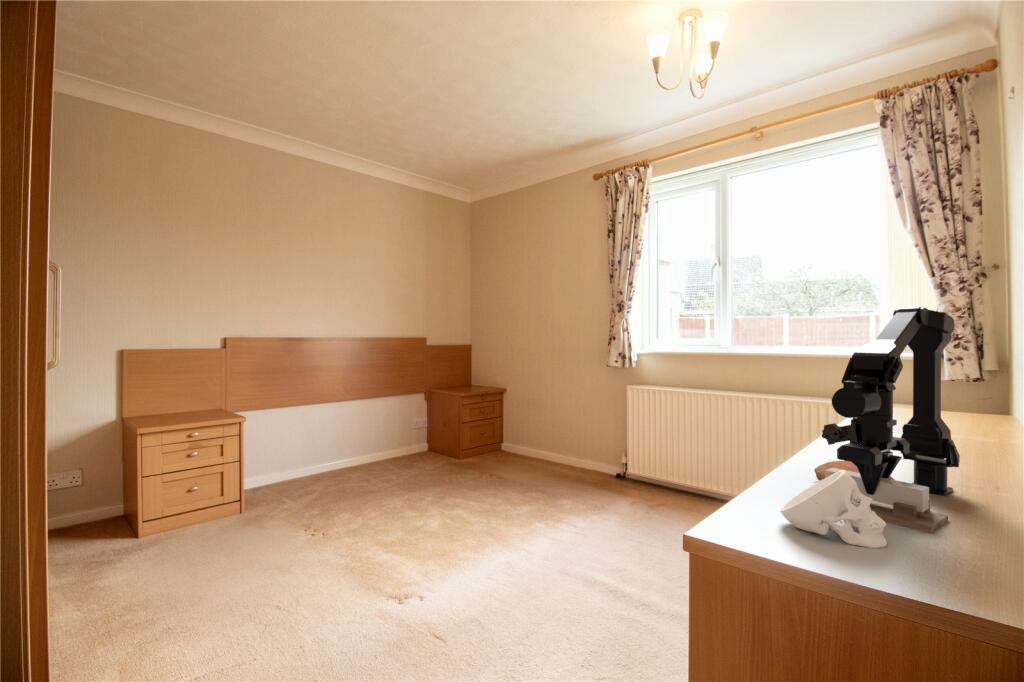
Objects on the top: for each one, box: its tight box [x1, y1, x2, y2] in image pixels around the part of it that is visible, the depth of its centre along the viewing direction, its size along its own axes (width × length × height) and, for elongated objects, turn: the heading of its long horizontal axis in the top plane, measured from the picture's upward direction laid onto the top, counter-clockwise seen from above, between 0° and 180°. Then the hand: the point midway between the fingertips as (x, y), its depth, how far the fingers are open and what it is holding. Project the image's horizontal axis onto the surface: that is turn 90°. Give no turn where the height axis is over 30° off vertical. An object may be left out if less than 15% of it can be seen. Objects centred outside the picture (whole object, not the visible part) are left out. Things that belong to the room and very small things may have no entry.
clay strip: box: [825, 468, 930, 512], centre depth 94 cm, size 4×16×4 cm, turn 34°
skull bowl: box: [779, 470, 888, 549], centre depth 82 cm, size 10×14×12 cm
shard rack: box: [870, 498, 949, 534], centre depth 94 cm, size 10×20×4 cm, turn 34°
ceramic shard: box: [814, 460, 896, 482], centre depth 112 cm, size 15×6×15 cm
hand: (873, 492), depth 94 cm, fingers closed on clay strip, 3 cm apart
